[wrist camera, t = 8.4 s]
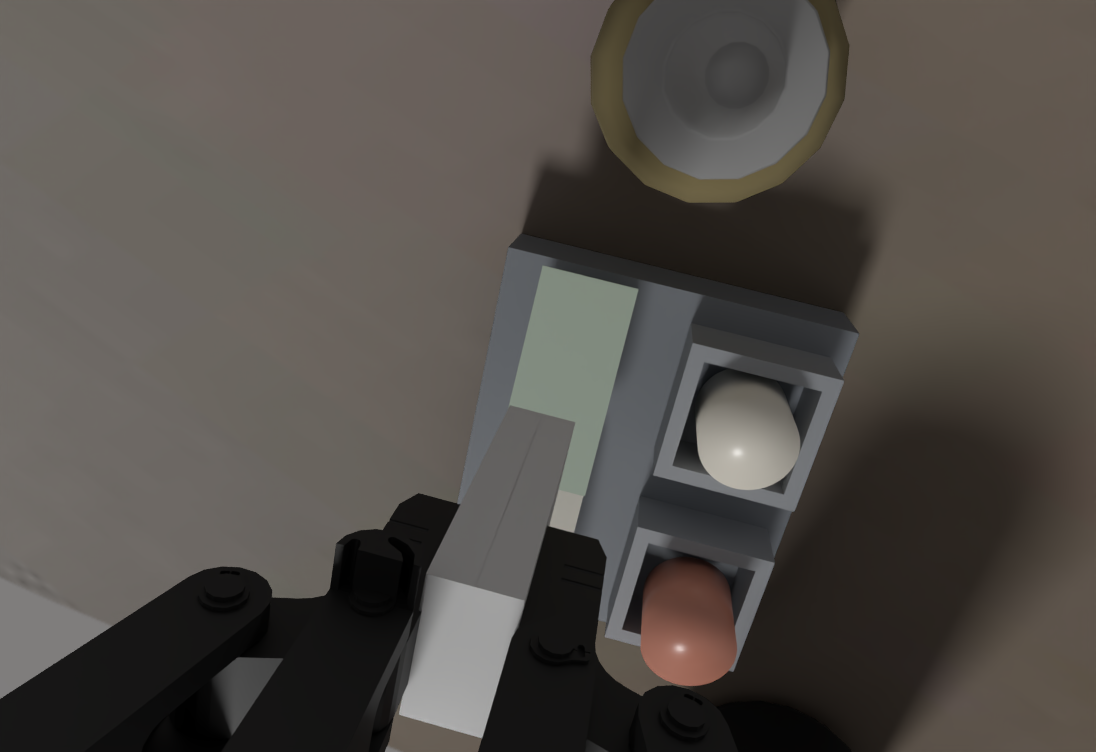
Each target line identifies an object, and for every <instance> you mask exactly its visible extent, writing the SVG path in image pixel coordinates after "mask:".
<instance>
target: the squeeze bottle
mask: <svg viewBox="0 0 1096 752" xmlns="http://www.w3.org/2000/svg"><path fill="white" fill-rule="evenodd" d="M848 55H849V43H848V40H847V36H846V33H845V30H844V27H843V24H842V20H841V17H840V14H839V11H838V7H837V4H836V1H835V0H615V1H614V2H613V3H612V4H611V6H610V8H609V9H608V11H607V14H606V17H605V19H604V22H603V25H602V27H601V30H600V33H599V35H598V38H597V41H596V44H595V46H594V49H593V52H592V54H591V105H592V107H593V110H594V112H595V115H596V117H597V120H598V122H599V125H600V127H601V130H602V132H603V135H604V137H605V140H606V142H607V145H608V146H609V148H610V149H611V151H612V152H613V153H614V154H615V155H616V156H617V157H618V158H619V159H620V160H621V161H622V162H623V163H624V164H625V165H626V166H627V167H628V168H629V169H630V170H631V171H632V172H633V173H634V174H635V175H636V176H637V177H638V178H639V179H640V180H641V181H642V182H643V183H644V184H645V185H647V186H649V187H651V188H654V189H656V190H659V191H661V192H663V193H666V194H668V195H671V196H673V197H676V198H678V199H680V200H683V201H685V202H688V203H716V202H738V201H741V200H743V199H745V198H748V197H750V196H753V195H755V194H758V193H760V192H763V191H765V190H767V189H770V188H772V187H775V186H777V185H780V184H782V183H783V182H784V181H785V180H786V179H788V178H789V177H790V176H791V175H792V174H793V173H794V172H795V171H796V170H797V169H798V168H799V167H800V166H801V165H803V164H804V163H805V162H806V161H807V160H808V159H809V158H810V157H811V156H812V155H813V154H814V153H815V152H816V151H818V150H819V149H820V148H821V145H822V143H823V141H824V139H825V137H826V135H827V133H828V131H829V129H830V127H831V125H832V123H833V121H834V119H835V117H836V115H837V113H838V111H839V109H840V107H841V105H842V103H843V101H844V97H845V87H846V76H847V66H848Z"/></svg>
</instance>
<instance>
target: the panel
mask: <svg viewBox="0 0 1096 752" xmlns="http://www.w3.org/2000/svg"><path fill="white" fill-rule="evenodd" d="M542 266H548V267H552V268H556V269H560V270H564V271H568V272H572V273H576V274H580V275H584V276H588V277H592V278H596V279H600V280H604V281H608V282H612V283H616V284H620V285H625V286H629V287H633V288H637V289H638V293H637V297H636V301H635V305H634V309H633V313H632V317H631V320H630V324H629V328H628V332H627V336H626V340H625V344H624V347H623V351H622V355H621V359H620V363H619V367H618V371H617V374H616V378H615V382H614V386H613V390H612V394H611V398H610V402H609V405H608V409H607V413H606V417H605V421H604V425H603V429H602V432H601V436H600V440H599V444H598V448H597V452H596V456H595V459H594V463H593V467H592V471H591V475H590V479H589V483H588V486H587V490H586V494H585V496H583V499H582V503H581V507H580V511H579V515H578V519H577V523H576V527H575V531H574V533H576V534H580V535H583V536H587V537H591V538H595V539H598V540H599V542H600V544H601V546H602V548H603V550H604V553H605V555H606V557H607V560H606V567H605V574H604V582H603V589H602V596H601V604H600V611H599V618H598V620H600V621H604V622H606V629H605V637H607V638H610V639H614V640H618V641H621V642H625V643H629V644H632V645H636V646H640V647H641V625H642V605H643V587H644V583H645V580H646V578H647V576H648V575H649V573H650V572H651V571H652V570H653V569H654V568H655V567H656V566H657V565H659V564H660V563H662V562H664V561H666V560H669V559H672V558H677V557H693V558H698V559H701V560H704V561H707V562H709V563H711V564H712V565H714V566H715V567H716V568H718V569H719V570H720V571H721V572H722V573H723V575H724V576H725V578H726V579H727V581H728V584H729V587H730V592H731V601H732V609H733V617H734V625H735V633H736V642H737V655H736V658H735V661H734V663H733V665H732V667H731V668H730V669H729V671H732V672H733V671H734V669H735V666H736V664H737V661H738V658H739V656H740V653H741V651H742V648H743V645H744V643H745V640H746V637H747V635H748V632H749V630H750V627H751V624H752V622H753V619H754V616H755V614H756V611H757V609H758V606H759V603H760V601H761V598H762V595H763V593H764V590H765V588H766V585H767V582H768V580H769V577H770V574H771V572H772V569H773V567H774V564H775V561H774V557H775V554H776V552H777V549H778V546H779V544H780V541H781V539H782V536H783V533H784V531H785V528H786V525H787V523H788V520H789V517H790V515H791V512H792V511H793V512H795V509H796V506H797V504H798V501H799V498H800V496H801V493H802V491H803V488H804V485H805V483H806V480H807V477H808V475H809V472H810V470H811V467H812V464H813V462H814V459H815V457H816V454H817V451H818V449H819V446H820V443H821V441H822V438H823V436H824V433H825V430H826V428H827V425H828V422H829V420H830V417H831V415H832V412H833V409H834V407H835V404H836V401H837V399H838V396H839V394H840V391H841V388H842V386H843V383H844V379H843V375H844V373H845V370H846V367H847V365H848V362H849V360H850V357H851V354H852V352H853V349H854V346H855V344H856V341H857V339H858V336H859V333H858V331H857V330H856V329H855V327H854V326H853V324H852V323H851V322H850V320H849V319H848V318H847V316H846V315H845V314H844V313H843V312H839V311H835V310H831V309H827V308H823V307H819V306H815V305H810V304H806V303H802V302H798V301H794V300H790V299H786V298H782V297H778V296H774V295H770V294H766V293H762V292H757V291H753V290H749V289H745V288H741V287H737V286H733V285H729V284H725V283H721V282H717V281H713V280H709V279H704V278H700V277H696V276H692V275H688V274H684V273H680V272H676V271H672V270H668V269H664V268H660V267H656V266H651V265H647V264H643V263H639V262H635V261H631V260H627V259H623V258H619V257H615V256H611V255H607V254H603V253H599V252H594V251H590V250H586V249H582V248H578V247H574V246H570V245H566V244H562V243H558V242H554V241H550V240H546V239H541V238H537V237H533V236H529V235H525V234H520V236H519V237H518V238H517V239H516V240H515V241H514V242H513V243H512V244H511V245H510V246H509V247H508V252H507V257H506V262H505V267H504V272H503V277H502V282H501V287H500V292H499V297H498V302H497V307H496V312H495V317H494V322H493V327H492V332H491V337H490V342H489V347H488V352H487V357H486V362H485V367H484V372H483V377H482V382H481V387H480V392H479V397H478V402H477V407H476V412H475V417H474V422H473V427H472V432H471V437H470V442H469V447H468V452H467V457H466V462H465V467H464V472H463V477H462V482H461V487H460V492H459V497H458V502H457V504H461V502H462V500H463V498H464V496H465V494H466V492H467V490H468V488H469V486H470V484H471V482H472V480H473V478H474V476H475V474H476V472H477V470H478V468H479V466H480V464H481V462H482V460H483V458H484V456H485V454H486V452H487V450H488V448H489V446H490V444H491V442H492V440H493V438H494V436H495V434H496V432H497V430H498V428H499V426H500V424H501V422H502V420H503V418H504V416H505V414H506V412H507V410H508V407H509V403H510V399H511V395H512V391H513V387H514V382H515V378H516V374H517V370H518V366H519V362H520V357H521V353H522V349H523V345H524V341H525V337H526V333H527V328H528V324H529V320H530V316H531V312H532V308H533V304H534V299H535V295H536V291H537V287H538V283H539V279H540V274H541V270H542ZM729 368H730V369H734V370H738V371H742V372H746V373H750V374H754V375H758V376H762V377H766V378H770V379H774V380H776V381H777V382H778V383H779V385H780V386H781V388H782V389H783V392H784V394H785V396H786V399H787V402H788V404H789V407H790V410H791V413H792V415H793V418H794V421H795V423H796V426H797V429H798V432H799V436H800V451H799V455H798V458H797V461H796V463H795V465H794V466H793V468H792V469H791V470H790V472H789V473H788V474H787V475H786V476H785V477H784V478H782V479H781V480H780V481H778V482H776V483H774V484H773V485H770V486H768V487H765V488H761V489H755V490H740V489H735V488H731V487H728V486H726V485H724V484H722V483H720V482H718V481H717V480H715V479H714V478H713V477H712V476H711V475H710V474H709V473H708V472H707V471H706V469H705V468H704V466H703V465H702V463H701V460H700V457H699V453H698V446H697V433H696V421H695V402H696V398H697V395H698V393H699V391H700V389H701V388H702V386H703V385H704V384H705V383H706V382H707V381H708V380H709V379H710V378H711V377H712V376H714V375H715V374H717V373H719V372H721V371H723V370H726V369H729Z"/></svg>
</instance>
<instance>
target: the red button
mask: <svg viewBox="0 0 1096 752" xmlns="http://www.w3.org/2000/svg"><path fill="white" fill-rule="evenodd" d="M641 652H642V656H643V658H644V660H645V662H646V664H647V665H648V666H649V668H650V669H651V670H652V671H653V672H654V673H655V674H657V675H658V676H659V677H661V678H663V679H664V680H667V681H669V682H671V683H674V684H678V685H684V686H698V685H704V684H708V683H711V682H713V681H715V680H717V679H719V678H721V677H722V676H723V675H724V674H726V673H727V672H728V671H729V669H730V668H731V667H732V665H733V663H734V661H735V658H736V655H737V642H736V633H735V625H734V617H733V609H732V601H731V592H730V587H729V584H728V581H727V579H726V578H725V576H724V575H723V573H722V572H721V571H720V570H719V569H718V568H716V567H715V566H714V565H712V564H711V563H709V562H707V561H704V560H701V559H698V558H693V557H677V558H672V559H669V560H666V561H664V562H662V563H660V564H659V565H657V566H656V567H655V568H654V569H653V570H652V571H651V572H650V573H649V575H648V576H647V578H646V580H645V583H644V587H643V605H642V625H641Z"/></svg>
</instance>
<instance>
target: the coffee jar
mask: <svg viewBox="0 0 1096 752" xmlns="http://www.w3.org/2000/svg"><path fill="white" fill-rule="evenodd" d="M717 709H718V710H720V712H721V714H722V715H723V717H724V719H725V720H726V722H727V724H728V726H729V729H730V731H731V734H732V737H733V739H734V742H735V745H736V747H737V750H738V752H851V750H850V749H849V748H848V747H847V746H846V744H844V743H843V742H842V741H841V740H840V739H839V738H838V737H837V736H836V735H834V734H833V733H832V732H831V731H830V730H829V729H828V728H827V727H826V726H824V725H823V724H821V723H819V722H818V721H816V720H815V719H813V718H811V717H809V716H807V715H805V714H803V713H801V712H799V711H797V710H795V709H793V708H790V707H788V706H782V705H777V704H772V703H767V702H762V701H755V702H737V703H729V704H726V705H723V706H720V707H717Z"/></svg>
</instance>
